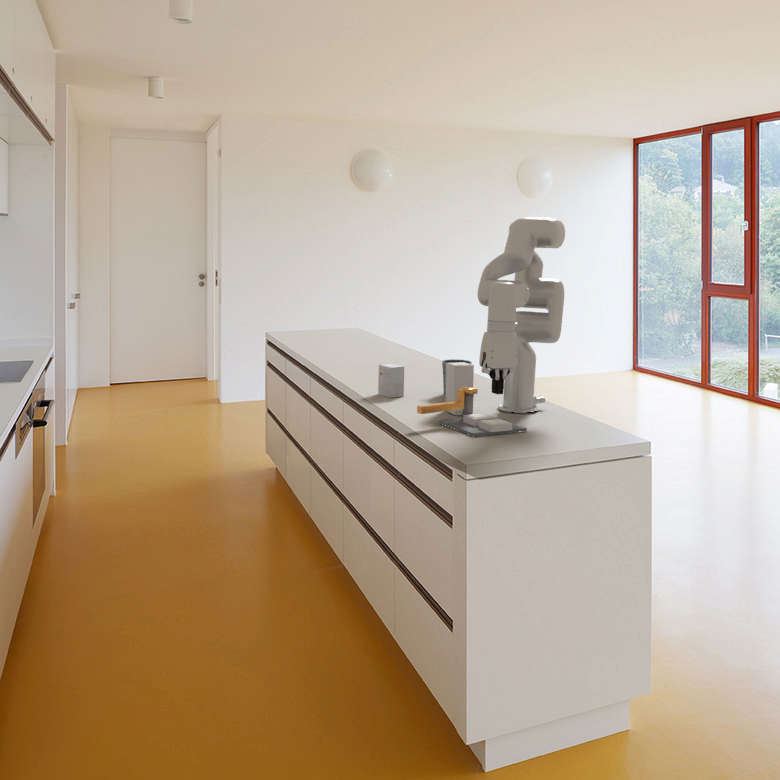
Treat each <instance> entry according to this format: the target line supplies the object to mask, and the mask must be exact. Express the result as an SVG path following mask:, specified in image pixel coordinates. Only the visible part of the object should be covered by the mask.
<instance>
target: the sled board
mask: <svg viewBox="0 0 780 780" xmlns="http://www.w3.org/2000/svg"><path fill="white" fill-rule="evenodd" d="M474 395H475V394H464V409H463V412H462V415H461V417H460V418H458V417H457V418H449V419H448V418H447V419H438V424H439V423H441V424H443V425H442V426H444V425H446V426H449V427H452V428H455V429H457V430H459V431H462V432H464V433H466V434H465V435H467V434H469V435H468V436H470V435H471V436H470V437H472V436H474V437H473V438H477V437H476V436H480V437H485V436H487V435H489V436H495V435H496V434H499V435H505V434H504V433H509V434H512V433H511V432H518V433H520V432H519V431H526V432H527V427H524V426H522V425H518V424H515V423H513V422H509V421H508V420H504V419H501V418H497V417H496V416H493V415H489V414H487V413H483V412H482V413H474V397H475V396H474ZM441 424H440V425H441ZM446 426H445V427H446ZM449 427H448V428H449ZM452 428H451V429H452ZM457 430H456V431H457ZM459 431H458V432H459ZM462 432H461V433H462ZM464 433H463V434H464ZM496 436H497V435H496ZM487 437H488V436H487Z"/></svg>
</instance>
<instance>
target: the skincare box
mask: <svg viewBox="0 0 780 780" xmlns="http://www.w3.org/2000/svg"><path fill="white" fill-rule="evenodd" d="M474 367H475V365H474V364H472V363H471V364H468V363H465V362H456V363H446V396H445V402H453V401H457V396H458V389H460V388H461V387H474V370H475V369H474ZM449 412H450V414H451V413H452V414H451V415H453V414H454V416H462V412H463V409H457V410H450V411H448V412H447V413H449Z"/></svg>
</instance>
